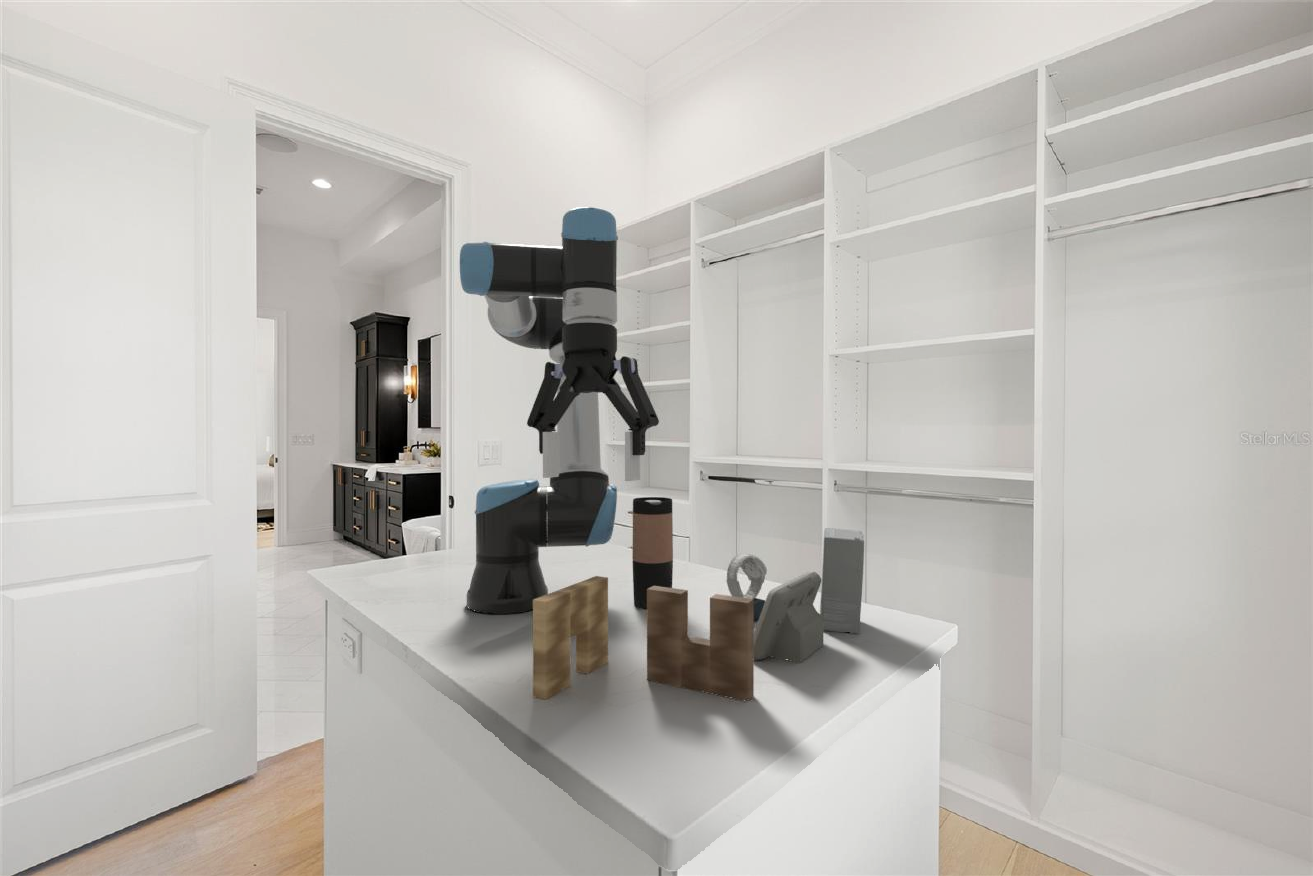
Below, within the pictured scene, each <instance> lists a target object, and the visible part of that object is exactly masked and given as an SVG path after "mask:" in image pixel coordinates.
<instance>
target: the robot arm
mask: <svg viewBox="0 0 1313 876" xmlns="http://www.w3.org/2000/svg"><path fill="white" fill-rule="evenodd" d="M561 226H562V227H561V234H560V236H561V246H547V245H527V244H526V245H525V244H512V243H494V242H487V241H484V242H467V243H464V244H462V246H461V248H460V251H459V252H460V253H459V276H460V277H459V278H460V279H459V280H460V284H461V288H462V290H463V292H464V293H466V294H468V295H469V294H470V295H476V296H479V297H484V298H485V301H486V304H487V305H488V307H487V318H488V321H489V325H490V326H491V328H492V329H493V330H494V331H495V333H496V334H497V335H499V336H500V337H502V338H503V339H505V340H507V342H511V343H512V344H515V345H518V346H520V347H524V348H527V349H535V350H548V354H549V358H550V359H551V360H552V361H547V362H546V363H545V366H544V373H543V374H544V375H543V379H542V382H541V384H540V388H539V390H538V392H537V394H536V397H535V400H534V403H533V405H532V408H531V411H530V413H529V416H528V419H527V422H526V425H527V426H528V427H529V428H532V429H535V430H536V431H537V432H538V444H539V446H538V451H539V454H540V455H542V478H543V479H544V478H545V479H549V485H547V486H546V485H545V486H540V482H539V480H538V478H530V479H529V478H528V479H527V478H526V479H525V478H524V479H518V480H517V479H516V480H511V481H504V482H503V481H502V482H498V483H497V482H496V483H492V484H489V485H486V486H483V487H481V488H480V489H479V490H478V491H477V493H476V495H475V496H476V498H475V499H476V500H475V510H474V515H475V555H476V556H475V566H474V569H473V574H472V577H471V581H470V584H469V588H468V589H467V592H466V607H467V606H468V607H469V608H470V609H473V610H475V611H479V612H478V613H480V612H485V613H484V614H488V613H494V614H493V615H505V613H508V614H515V613H517V612H518V613H523V612H522V611H524V612H528V611H527V610H529V611H532V610H531V609H533V599H536V598H539V597H541V596H544V595H547V594H549V590H548V589H549V588H548V586H547V584H546V582H545V578H544V575H543V571H542V568H541V565H540V560H539V559H540V558H539V556H540V555H539V548H550V547H551V548H552V547H553V548H554V547H558V548H559V547H580V546H581V547H583V546H585V547H589V546H597V545H598V546H600V545H605V544H607V543H608V542H609V541H611V538H612V536H613V531H614V526H615V521H616V512H617V502H618V501H617V500H618V487H617V486H616V485H613V484H611V483H610V482H609V481H610V479H609V474H608V473H606V472H605V471H604V470H603V469H602V465H601V441H600V440H601V438H600V411H599V410H600V409H599V406H600V404H599V394H600V393H601V394H604V395H605V396H606V397H607V399H608V400H609V401H610V403H611V404H612V405H613V407H614V408H615V409H616V411H617V413H619V415H620V416H621V418H622V420H623V421H624V422H625V423H626V424H627V426H628V427H629V428H627V429H628V431H624V481H625V482H634V481H641V456H644V455H645V453H646V431H647V430H648V429H650V428H652V427H657V426H658V425H659V423H660V420H659V417H658V415H657V412H656V411H655V409H654V407H653V404H652V402H651V399H650V397H649V395H648V393H647V390H646V388H645V386H644V384H643V382H642V379H641V377H640V375H639V366H638V361H637V359H636V358H634V357H629V356H626V355H625V356H622V357H621V358H620V359H617V356H616V353H617V351H618V329H617V328H616V326H614V325H615V324H616V323H617V322H618V294H617V293H618V292H617V262H618V259H617V258H618V257H617V255H618V254H617V251H618V250H617V248H618V246H617V244H618V241H619V237H618V234H617V221H616V217H615V216H614V215H613V214H612V213H611V212H610V211H608V210H606V209H603V208H599V207H592V206H591V207H589V206H587V207H585V206H584V207H583V206H582V207H581V206H580V207H576V208H573V209H570V210H568V211H566V212H565V214H564V215H563V216H562V225H561ZM617 372H619V374H620V375H621V377H622V379H623V381H624V384H625V386H626V390H627V391H628V393H629V396H630V399H631V400H632V402H630V400H629V399H628V398H627V396H626V394H625V393H624V392H623V390H622V387H621V386H620V384H619V383H618V382H617V381H616V379H615V378H614V377H615V375H616V373H617ZM632 403H633V404H632ZM633 405H634V406H635V407H634V406H633ZM470 609H469V610H470ZM475 611H474V612H475ZM495 613H496V614H495Z"/></svg>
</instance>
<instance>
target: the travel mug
mask: <svg viewBox="0 0 1313 876" xmlns="http://www.w3.org/2000/svg"><path fill="white" fill-rule="evenodd" d="M673 527H674V526H673V498H670V497H665V496H663V497H661V496H660V497H659V496H648V497H647V496H644V497H637V498H636V497H635V498H633V500H632V555H631V556H632V581H633V582H632V586H633V589H632V591H633V605H634V607H636V608H637V609H640V610H645V611H647V589H648V588H650V587H652V586H660V587H668V588H673V571H674V565H673V564H674V547H673V546H674V545H673V544H674V543H673V542H674V535H673V534H674V533H673Z"/></svg>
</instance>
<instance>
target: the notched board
mask: <svg viewBox="0 0 1313 876" xmlns="http://www.w3.org/2000/svg"><path fill="white" fill-rule="evenodd" d="M574 637H575V671H576V672H578V673H583V674H588V675H589V674H590V673H591V672H594V671H595V670H597V669H599V668H600V667H602V666H603V665H605V664H607V663H608V662H609V577H608V576H607V577H606V576H600V575H595V576H593V577H590V578H588V579H584V580H582V581H579V582H577V583H574V584H570V585H569V586H566V587H564V588H561V589H559V590H555V591H552V592H550V593H549V592H548V594H547V595H544V596H541V597H539V598H536V599H533V610H532V677H533V678H532V683H533V685H532V697H535V698H539V699H543V700H548V699H550V698H551V697H553V696H555V695H556V694H558V693H559V692H561V691H562V690H564V689H566V688H567V687H569V686H571V639H573V638H574Z"/></svg>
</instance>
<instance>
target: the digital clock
mask: <svg viewBox="0 0 1313 876" xmlns="http://www.w3.org/2000/svg"><path fill="white" fill-rule="evenodd" d="M821 585H822V577H821V576H820V575H819V574H818V573H817V572H815V571H810V572H805V573H803V574H800V575H798V576H797V577H794V578H792V579H791V580H789V581H786V582H784V583H782V584H780V585H778V586H776V587H774V588H772V589H770V590H769V592H768V593H767V596H766V599H765V604H764V606H763V609H762V612H761V615H760V617H759V620H758V621H757V623H756V626H755V630H754V660H756V661H759V660H760V661H761V660H765V659H767V657H771V656H773V657H772V658H775V657H778V658H777V659H779V658H782V659H781V660H784V659H788V660H792V661H795V662H794V663H797V662H799V663H798V664H801V663H802V662H804V661H805V660H806V659H807V658H809V657H810V656H811V655H813V654H814V653H815V652H817V651H818V650H819V649H820V648H821V647H823V646H824V630H823V618H822V616H821V615H820V612H818V611H817V610H816V608H815V606H814V603H815V599H816V597H817V595H818V591H819V590H820V586H821ZM769 655H770V656H769ZM788 660H787V661H788ZM803 660H804V661H803ZM792 661H791V662H792Z"/></svg>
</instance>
